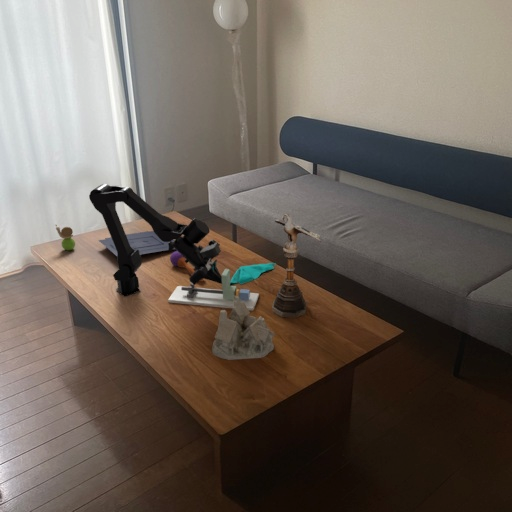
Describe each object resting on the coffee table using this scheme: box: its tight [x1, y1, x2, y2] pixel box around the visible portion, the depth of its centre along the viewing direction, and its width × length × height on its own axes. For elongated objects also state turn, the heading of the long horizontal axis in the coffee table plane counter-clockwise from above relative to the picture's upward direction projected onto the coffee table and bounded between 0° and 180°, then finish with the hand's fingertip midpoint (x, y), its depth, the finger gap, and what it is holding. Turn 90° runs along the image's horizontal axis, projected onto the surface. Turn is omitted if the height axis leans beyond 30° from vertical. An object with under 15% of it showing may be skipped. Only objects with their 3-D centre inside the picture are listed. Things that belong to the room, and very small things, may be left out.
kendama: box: [169, 250, 204, 283], centre depth 197 cm, size 6×6×20 cm
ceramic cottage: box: [211, 296, 275, 361], centre depth 150 cm, size 16×16×15 cm
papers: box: [97, 230, 176, 257], centre depth 218 cm, size 24×30×4 cm
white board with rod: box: [167, 282, 260, 312], centre depth 178 cm, size 30×10×5 cm, turn 78°
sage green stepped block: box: [221, 268, 238, 300], centre depth 175 cm, size 4×5×10 cm
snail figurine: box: [55, 224, 76, 251], centre depth 215 cm, size 5×6×12 cm
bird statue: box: [271, 213, 322, 319], centre depth 167 cm, size 17×13×35 cm
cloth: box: [230, 262, 277, 285], centre depth 196 cm, size 26×14×2 cm, turn 123°
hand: (222, 282), depth 175 cm, fingers closed, pressing on sage green stepped block
